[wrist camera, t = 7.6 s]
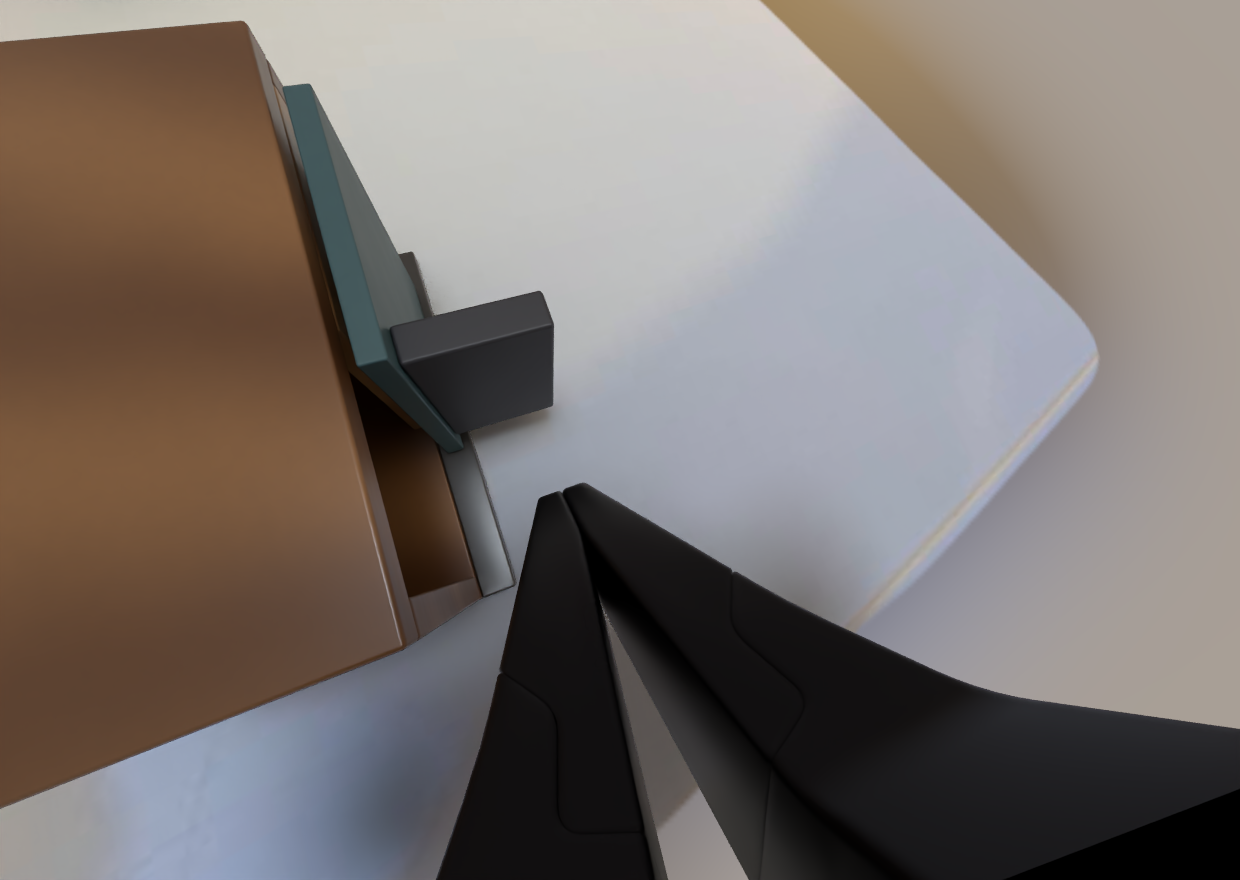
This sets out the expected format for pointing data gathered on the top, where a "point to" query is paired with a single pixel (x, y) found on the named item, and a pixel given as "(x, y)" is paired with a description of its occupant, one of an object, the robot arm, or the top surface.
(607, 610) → the robot arm
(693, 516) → the top surface
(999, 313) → the top surface
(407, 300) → the sliding door
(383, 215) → the top surface
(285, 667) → the cupboard
